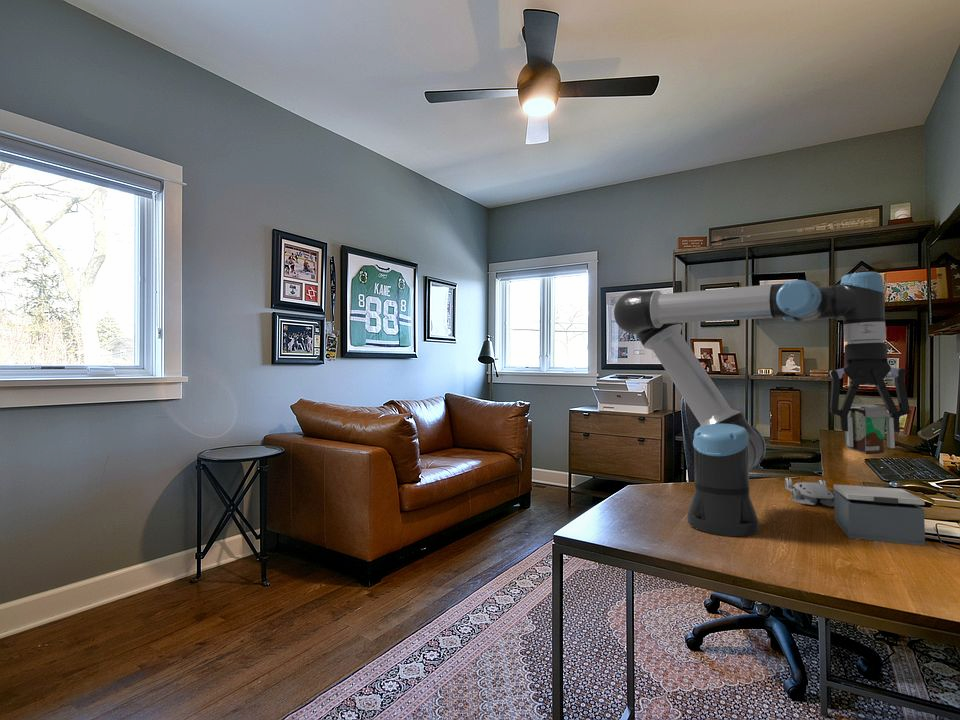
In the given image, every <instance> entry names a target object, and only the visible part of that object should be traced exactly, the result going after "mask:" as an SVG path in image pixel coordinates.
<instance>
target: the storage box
mask: <svg viewBox="0 0 960 720" xmlns="http://www.w3.org/2000/svg"><path fill="white" fill-rule="evenodd" d="M833 489H834V488H833ZM833 491H834V504H835V507H834V521H835V522H836V523H837V525H838V526H839V527H840V528H841V530H843V532H844V533H845V534H846V536H847V537H848V538H849V539H855V540H856V539H857V540H858V539H859V540H867V541H878V542H887V543H897V544H904V545H905V544H906V545H916V546H924V545H925V546H926V534H925V533H926V532H925V531H926V529H925V509H924V508H923V507H922V506H921V505H918V504H905V503H898V504H896V503H883V502H874V501H866V500H853V499H847V498H846V497H844V496H843V495H842V494H840V493H839V492H838V491H836V490H835V489H834V490H833Z"/></svg>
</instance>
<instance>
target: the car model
mask: <svg viewBox="0 0 960 720" xmlns="http://www.w3.org/2000/svg"><path fill="white" fill-rule="evenodd" d="M826 483H827V482H826V481H825V480H824V479H819V480H818V481H817V482H811V481H810V482H807V481H798V482H795V483H794V484H793V481H792V478H790V477H785V478H784V488H785V489H786V490H788V491H789V492H791V500H792V501H793V502H794V503H797V504H799V505H804V506H810V507H811V506H812V507H813V506H822V507H827V508H835V504H834V490H833V491H831V490H830V489H829V488H828V487H827V484H826Z"/></svg>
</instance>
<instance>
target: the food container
mask: <svg viewBox="0 0 960 720" xmlns="http://www.w3.org/2000/svg"><path fill="white" fill-rule="evenodd" d="M842 405H843V403H842ZM842 405H841V406H842ZM848 417H852V427H853V447H849V446H847V434H846V431H844V436H845V437H844V438H845V449H848V450H852V451H855V452H858V453H861V454H863V455H879V454H883V453H884V452H885V433H886V417H890V414H889V412H888V410H887V408H886V406H885V405H882V404H869V403H868V404H864V403H863V404H861V403H860V404H859V403H852V405H851V408H850V411H849V413H848Z"/></svg>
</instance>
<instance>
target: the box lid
mask: <svg viewBox="0 0 960 720" xmlns="http://www.w3.org/2000/svg"><path fill="white" fill-rule="evenodd" d="M833 489H835V490H836V491H838V492H839V493H840V494H842V495H843V496H844V497H846V498H847V499H853V500H866V501H874V502H883V503H896V504H898V503H905V504H917V505H919V506H925V505H926V504H925V499H922V498H921V497H919V496H918V495H914V494H913V493H911V492H908V491H907V490H904V488H897V487H896V488H893V487H879V486H864V485H863V486H862V485H850V484H849V485H848V484H835V483H834V484H833Z"/></svg>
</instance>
